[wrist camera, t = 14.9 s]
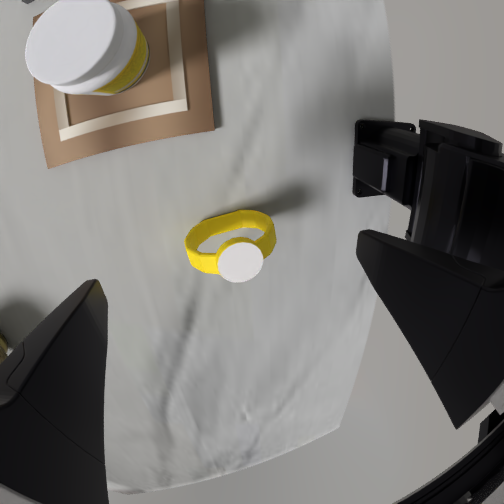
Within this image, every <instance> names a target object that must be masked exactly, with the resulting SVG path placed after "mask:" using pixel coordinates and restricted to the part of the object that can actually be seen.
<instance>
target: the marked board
mask: <svg viewBox="0 0 504 504" xmlns="http://www.w3.org/2000/svg"><path fill="white" fill-rule="evenodd" d="M109 1H110V2H113V3H116V4H118V5H120V6H122V7H123V8H125V9H126V10H127V11H128V12H129V13H130V14H131V15H132V17H133V18H134V20H135V22H136V23H137V25H138V27H139V28H140V30H141V32H142V34H143V35H144V37H145V38H146V40H147V42H148V44H149V49H150V60H149V64H148V67H147V70H146V72H145V73H144V75H143V77H142V78H141V79H140V80H139V81H138V82H137V83H136V84H135V85H134V86H133V87H131V88H130V89H128V90H126V91H124V92H122V93H119V94H116V95H109V96H102V95H74V94H67V93H64V92H61V91H59V90H57V89H55V88H54V87H52V86H51V85H50V84H45V83H43V82H40V81H39V80H37V79H36V78H35V77H34V86H35V97H36V105H37V113H38V120H39V126H40V132H41V138H42V143H43V148H44V153H45V158H46V163H47V167H48V169H50V168H53V167H56V166H59V165H62V164H65V163H68V162H71V161H74V160H78V159H81V158H84V157H88V156H91V155H95V154H99V153H102V152H106V151H110V150H114V149H118V148H122V147H126V146H131V145H135V144H139V143H144V142H149V141H154V140H159V139H164V138H170V137H175V136H181V135H187V134H193V133H200V132H207V131H214V130H215V128H214V118H213V108H212V97H211V86H210V75H209V63H208V51H207V39H206V25H205V11H204V0H109ZM43 13H44V12H43ZM43 13H41V14H39V15H37V16H35V17H33V26H34V24H35V23H36V22H37V20H38V19H39V18H40V16H41V15H42V14H43Z"/></svg>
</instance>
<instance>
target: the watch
mask: <svg viewBox="0 0 504 504" xmlns="http://www.w3.org/2000/svg"><path fill="white" fill-rule="evenodd" d="M242 227H247V228H258V229H260V230H262V231H264V232H265V233H264V235H263V236H262V237H260V238H259V239H257V240H256V241H253V240H251V239H249V238H245V237H236V238H232V239H230V240H228V241H226V242H225V243H224V244H222V245H221V246H220V248H219V249H218V251H217V253H201V252H199V251H197V248H198V246H199V245H200V244H201V243H203V242H204V241H205V240H207V239H208V238H209V237H210V236H214V235H217V234H221V233H224V232H228V231H231V230H235V229H238V228H242ZM184 243H185V247H186V251H187V254H188V256H189V259H190V262H191V265H192V266H193V267H195V268H197V269H198V270H200V271H202V272H204V273H205V272H206V273H212V274H220V275H221V276H222V277H223V278H224V279H225V280H228V281H230V282H236V283H240V282H245V281H247V280H250V279H252V278H253V277H254V276H255V275H257V274H258V272H259V271H260V269H261V267H262V264H263V259H265V258H266V257H267V256H269V255H270V253H272V251H273V248H274V246H275V244H276V234H275V229H274V224H273V222H272V220H271V218H270V216H268V215H266V214H264V213H261V212H259V211H255V210H240V209H239V210H238V211H235V212H232V213H228V214H224V215H221V216H217V217H214V218H210V219H207V220H203V221H202V222H200V223H199V224H197V225H196V226H195V227H193V228H192V229H191V230H190V232H189V233H188V235H187V236H186V238H185V240H184Z"/></svg>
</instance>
